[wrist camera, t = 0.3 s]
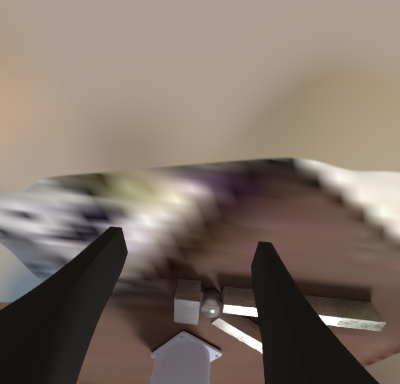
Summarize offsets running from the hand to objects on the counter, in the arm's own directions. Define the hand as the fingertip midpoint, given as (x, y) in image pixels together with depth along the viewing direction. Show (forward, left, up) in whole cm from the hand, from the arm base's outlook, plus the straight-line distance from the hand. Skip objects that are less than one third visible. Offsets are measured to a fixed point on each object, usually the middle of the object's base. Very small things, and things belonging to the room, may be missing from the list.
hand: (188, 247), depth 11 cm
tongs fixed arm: (-8, -18, -10) cm, 22 cm away
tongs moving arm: (-13, -21, -10) cm, 27 cm away
